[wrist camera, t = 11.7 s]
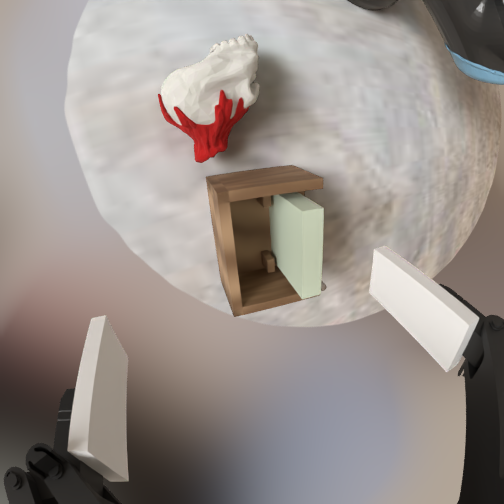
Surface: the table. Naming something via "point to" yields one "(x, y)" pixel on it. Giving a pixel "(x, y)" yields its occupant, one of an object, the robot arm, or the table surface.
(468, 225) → the table surface
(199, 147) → the white and red lump
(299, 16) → the table surface
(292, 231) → the door
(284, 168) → the cabinet
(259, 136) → the table surface
